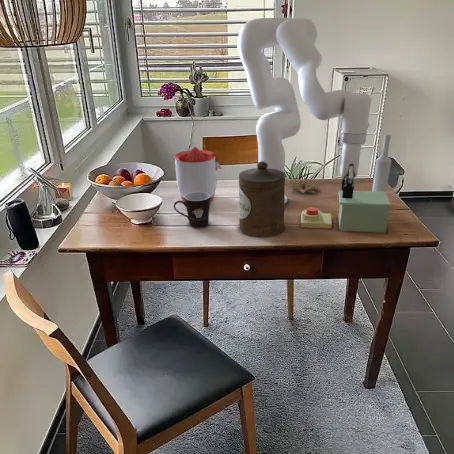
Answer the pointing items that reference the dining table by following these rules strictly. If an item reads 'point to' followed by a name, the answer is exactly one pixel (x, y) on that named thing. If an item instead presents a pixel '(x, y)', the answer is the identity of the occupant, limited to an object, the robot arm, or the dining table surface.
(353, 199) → the lid
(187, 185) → the citrus juicer
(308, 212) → the button
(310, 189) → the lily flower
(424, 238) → the dining table surface
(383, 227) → the compartment
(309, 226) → the control block
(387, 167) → the bottle
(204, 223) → the coffee mug
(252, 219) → the wooden container
